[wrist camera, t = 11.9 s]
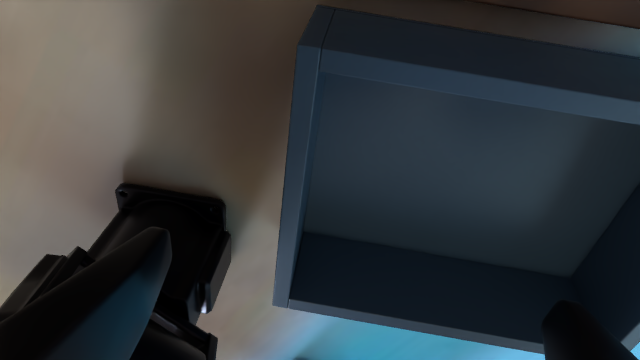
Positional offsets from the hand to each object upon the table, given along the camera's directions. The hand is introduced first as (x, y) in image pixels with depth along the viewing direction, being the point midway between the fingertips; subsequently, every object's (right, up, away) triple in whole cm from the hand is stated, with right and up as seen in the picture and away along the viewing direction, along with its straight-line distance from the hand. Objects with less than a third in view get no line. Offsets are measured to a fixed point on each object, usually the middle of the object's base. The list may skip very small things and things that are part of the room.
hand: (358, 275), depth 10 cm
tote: (+7, +3, +12) cm, 14 cm away
